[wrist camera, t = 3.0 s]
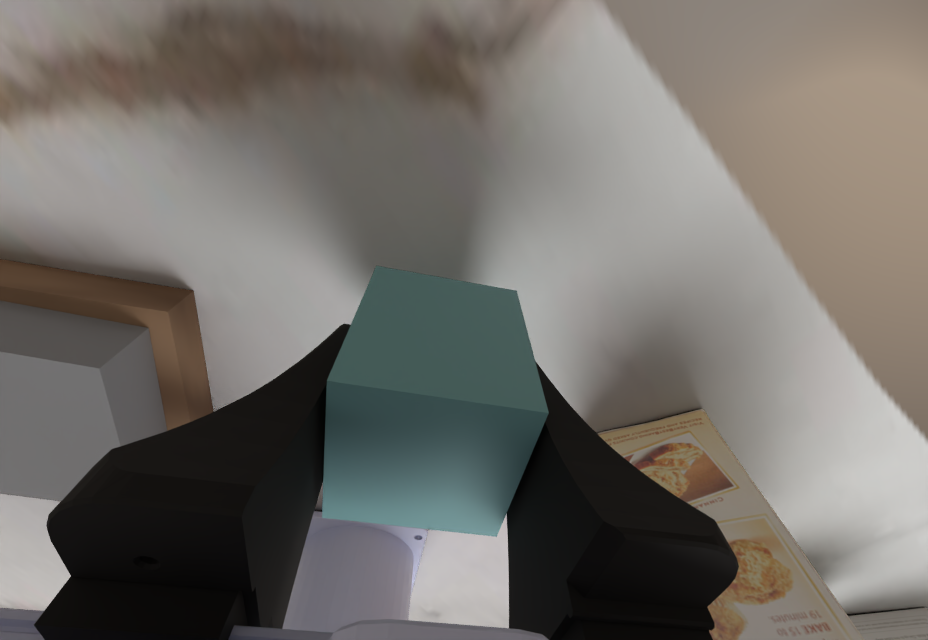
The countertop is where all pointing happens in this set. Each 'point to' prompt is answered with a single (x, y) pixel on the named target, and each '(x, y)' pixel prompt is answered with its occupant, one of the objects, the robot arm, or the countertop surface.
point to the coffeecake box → (737, 533)
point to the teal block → (431, 406)
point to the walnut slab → (129, 304)
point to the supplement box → (893, 625)
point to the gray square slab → (70, 396)
